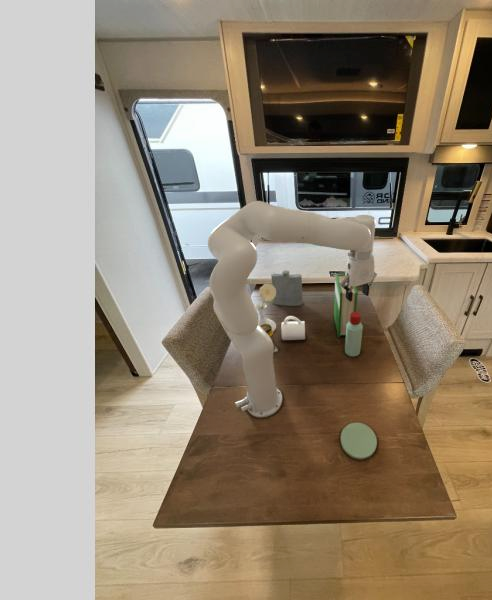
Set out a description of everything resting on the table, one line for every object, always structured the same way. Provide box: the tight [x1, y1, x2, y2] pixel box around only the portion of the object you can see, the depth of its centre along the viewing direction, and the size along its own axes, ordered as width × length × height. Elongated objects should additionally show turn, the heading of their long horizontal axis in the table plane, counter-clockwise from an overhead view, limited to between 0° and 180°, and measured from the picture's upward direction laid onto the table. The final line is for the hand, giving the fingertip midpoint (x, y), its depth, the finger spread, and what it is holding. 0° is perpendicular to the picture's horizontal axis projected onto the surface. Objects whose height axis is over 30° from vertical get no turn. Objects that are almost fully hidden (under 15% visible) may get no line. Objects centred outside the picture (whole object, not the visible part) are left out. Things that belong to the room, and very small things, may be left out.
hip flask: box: [270, 269, 304, 307], centre depth 141 cm, size 16×4×20 cm, turn 86°
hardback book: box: [333, 273, 359, 338], centre depth 124 cm, size 18×7×24 cm, turn 4°
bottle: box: [344, 321, 364, 357], centre depth 110 cm, size 7×7×19 cm
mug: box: [280, 315, 306, 341], centre depth 119 cm, size 8×10×12 cm
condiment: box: [260, 324, 279, 354], centre depth 112 cm, size 7×8×12 cm
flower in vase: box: [255, 282, 277, 333], centre depth 120 cm, size 13×11×25 cm
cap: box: [350, 311, 361, 325], centre depth 105 cm, size 4×4×4 cm
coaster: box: [340, 422, 378, 460], centre depth 81 cm, size 11×11×1 cm
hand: (357, 296), depth 100 cm, fingers open, 7 cm apart
